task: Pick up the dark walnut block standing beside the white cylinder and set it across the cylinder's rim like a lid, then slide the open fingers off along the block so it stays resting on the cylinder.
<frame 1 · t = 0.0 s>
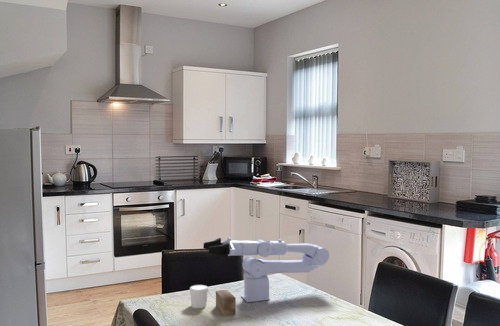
hand: (206, 247, 169), 22 cm above the table, tool horizontal, fingers open, 7 cm apart
white cylinder: (199, 306, 169), on the table
walnut block: (225, 310, 164), on the table
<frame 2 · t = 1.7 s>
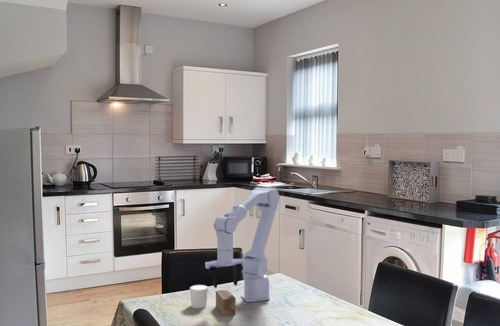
hand: (225, 285, 164), 9 cm above the table, tool pointing down, fingers open, 7 cm apart
nothing on the table moved.
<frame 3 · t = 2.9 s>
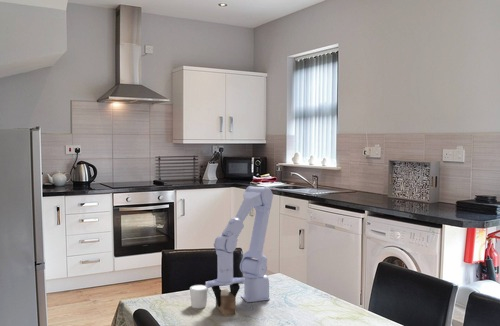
hand: (225, 304, 164), 2 cm above the table, tool pointing down, fingers closed on walnut block, 4 cm apart
walnut block: (225, 310, 164), on the table, touching gripper
everything else where it was.
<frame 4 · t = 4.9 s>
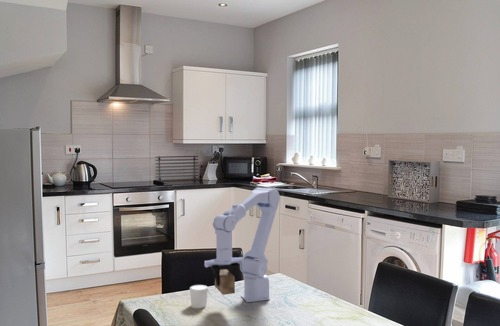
hand: (224, 284, 164), 9 cm above the table, tool pointing down, fingers closed on walnut block, 4 cm apart
walnut block: (224, 289, 164), point 7 cm above the table, touching gripper
everything else where it was.
when the fingers open (9 cm above the table, at t = 7.1 s): walnut block stays where it is, resting on white cylinder.
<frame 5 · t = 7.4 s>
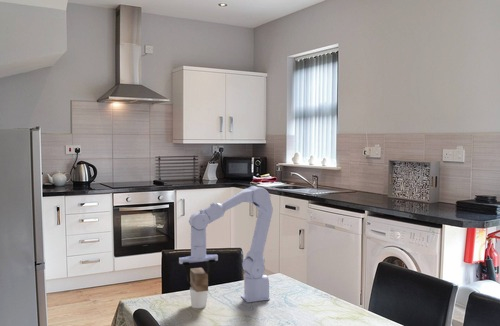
hand: (198, 280, 168), 9 cm above the table, tool pointing down, fingers open, 7 cm apart
white cylinder: (199, 306, 169), on the table, touching walnut block
walnut block: (198, 287, 169), point 7 cm above the table, touching white cylinder
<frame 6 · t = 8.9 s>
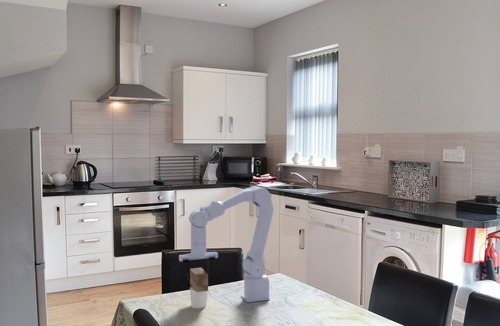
hand: (198, 278, 168), 10 cm above the table, tool pointing down, fingers open, 7 cm apart
nothing on the table moved.
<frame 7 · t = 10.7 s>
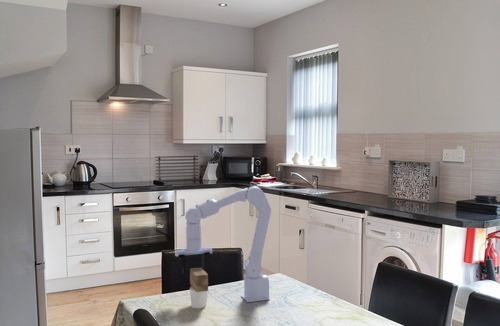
hand: (193, 272, 176), 10 cm above the table, tool pointing down, fingers open, 7 cm apart
nothing on the table moved.
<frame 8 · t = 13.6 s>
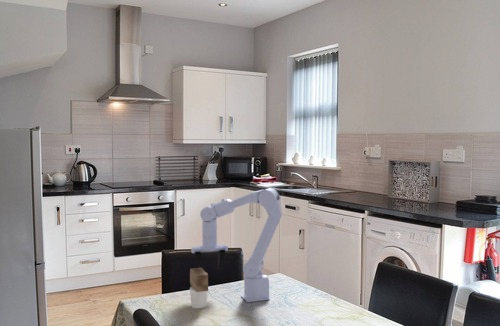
hand: (209, 269, 180), 10 cm above the table, tool pointing down, fingers open, 7 cm apart
nothing on the table moved.
at the end: walnut block 0.0 cm off-centre on the white cylinder, point 7.2 cm above the white cylinder's base; walnut block touching white cylinder; white cylinder tilted 0° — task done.
